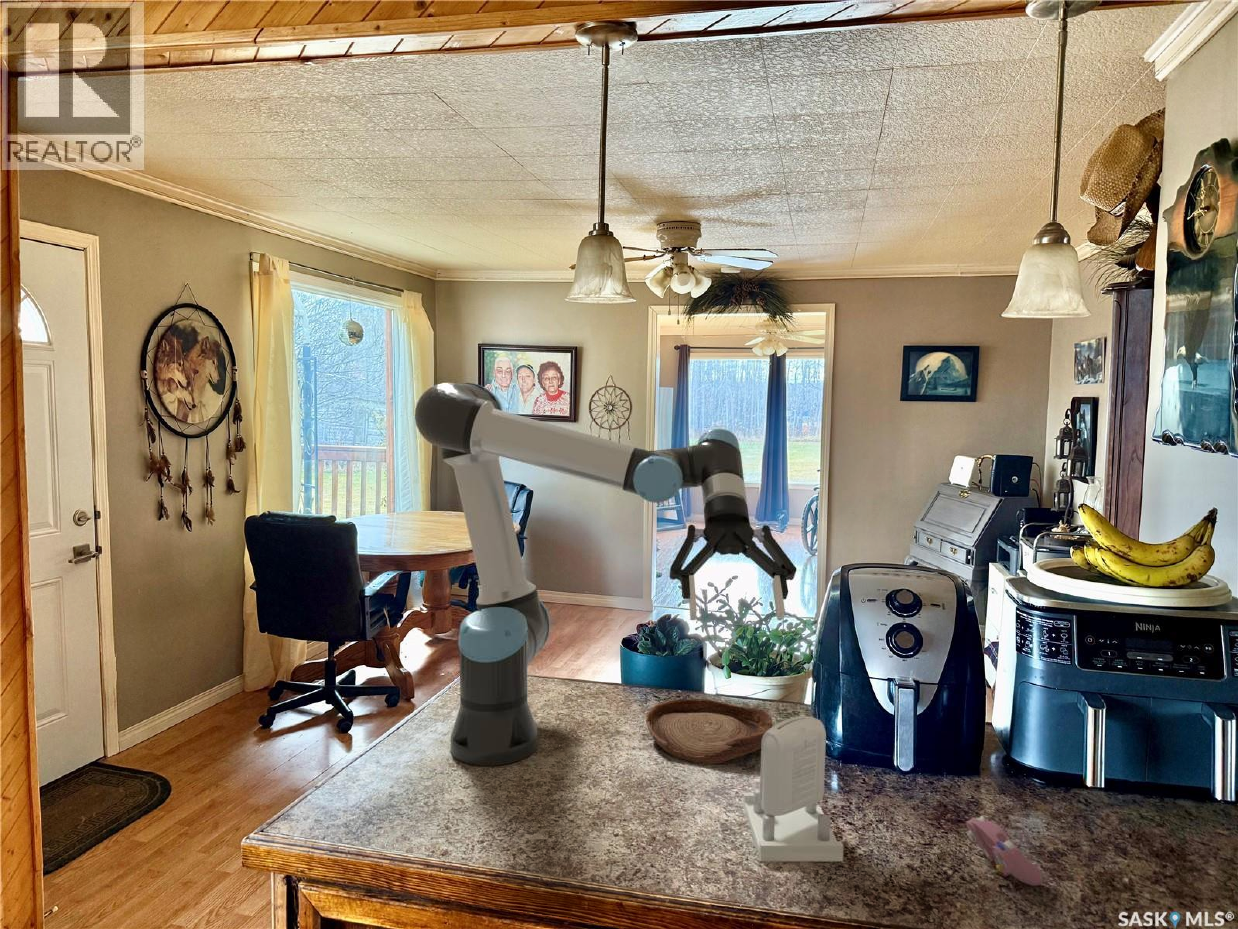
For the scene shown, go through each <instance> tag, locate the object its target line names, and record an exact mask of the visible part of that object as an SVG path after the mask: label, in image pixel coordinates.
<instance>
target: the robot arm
mask: <svg viewBox="0 0 1238 929" xmlns="http://www.w3.org/2000/svg"><path fill="white" fill-rule="evenodd" d="M414 411H415V412H414V420H415V421H414V422H415V425H416V428H417V430H418V432H419V433H420V435H421V436H422V437H423V438H424V439H425V440H426V441H427V442H428V443H430V444H431V445H433V446H435V447H438V448H440V453H441V456H442V460H443V462H444V463H446V464H447V465H449V466H451V467H452V468H453V471H454V476H455V480H456V484H457V488H458V493H459V497H460V502H461V506H462V510H463V514H464V515H463V516H464V518H465V523H466V527H467V532H468V536H469V540H470V544H471V548H472V554H473V558H474V561H475V566H476V569H477V576H478V579H479V583H480V588H481V592H480V593H479V595H478V597H477V599H476V602H475V604H476V607H477V610H475V611H473V612H471V613H469V614H468V615H467V616H465V617H464V619H463V620H462V621H461V623H460V626H459V635H458V641H457V644H458V651H459V652H458V653H459V655H458V656H459V660H458V662H459V696H460V697H459V698H460V700H459V701H460V702H459V704H460V705H459V708H458V711H457V714H456V715H457V716H456V718H455V722H454V724H453V727H452V731H451V733H450V753H451V755H452V756H453V757H454V758H455V759H457V760H458V761H460V762H463V763H465V764H469V765H474V766H481V767H483V766H487V767H491V766H492V767H493V766H494V767H495V766H505V765H508V764H513V763H516V762H519V761H522V760H523V759H526V758H528V757H530V756H531V755H532V754H533V753H534V752H535V751H536V750H537V748H538V744H539V742H538V740H539V737H538V734H539V733H538V729H537V726H536V723H535V720H534V717H533V714H532V711H531V708H530V705H529V703H528V667H529V665H530V663H531V662H532V661H533V660H534V659H535V657H536V656H537V655H538V653H540V652H541V650H543V647H544V646H545V645H546V643H547V641H548V637H549V636H550V631H551V617H550V613H549V610H548V609H547V607H546V605H545V604H544V603H543V602H542V600H540V598H539V594H538V590H537V586H536V584H534V583H532V582H530V581H529V580H528V579H527V578H526V576H527V575H526V572H525V568H524V564H523V559H522V555H521V550H520V545H519V541H518V537H517V533H516V529H515V524H514V520H513V516H512V511H511V507H510V503H509V498H508V494H507V490H506V485H505V480H504V477H503V472H502V469H501V468H502V467H501V462H500V459H499V458H500V457H502V458H505V459H509V460H512V461H513V460H514V461H516V462H520V463H524V464H527V465H531V466H534V467H539V468H542V469H546V470H549V471H552V472H557V473H561V474H564V475H568V476H571V477H575V478H579V479H581V480H586V481H588V482H594V483H597V484H600V485H604V486H608V487H611V488H613V489H614V488H615V489H617V490H622V491H625V492H628V493H630V494H634V495H637V496H640V497H641V498H642V499H644V501H647V502H649V503H654V504H655V503H656V504H660V503H664V502H666V501H669V500H671V499H673V498H674V497H675V496H676V495H677V494H678V493H679V491H680V490H683V489H688V488H690V489H691V488H697V487H701V491H702V504H703V518H704V528H696V526H695V525H694V524H690V525H688V526H687V532H686V534H687V535H686V538H685V539H684V542H683V543H682V545H681V546H680V549H679V551H678V552H677V554H676V557H675V558H674V560H673V562H672V563H671V566H670V567H669V568H670V569H669V579H671V580H677V581H680V587H681V598H683V600H688V604H689V620H690V621H696V617H697V598H696V597H697V596H696V585H695V574H696V573H697V572H698V571H699V570H700V569H701V568H702V567H703V566H704V565H705V564H706V562H708V560H709V559H711V558H712V557H713V556H714V555H715V554H716V553H718V554H720V555H721V556H722V555H724V556H725V555H735V556H736V555H738V556H739V555H740V554H743V556H745V557H746V558H747V559H750V560H752V562H753V563H755V564H756V565H757V566H758V567H760V569H761V570H763V571H764V572H765V573H766V574H767V575H768V576H769V577H770V578H772V579H773V581H772V583H771V587H772V594H773V600H774V607H775V614H776V620H777V621H783V619H784V616H785V613H786V609H785V603H784V602H785V601H784V600H787V598H788V594H789V589H788V583H787V582H788V581H792V580H794V578H795V576H796V573H797V567H796V566H795V565H794V563H793V561H791V559H790V558H789V556H788V555H787V554H786V552H785V551H784V549H782V547H781V545H780V544H779V543H778V542H777V541H776V539H775V538H774V536H773V534H772V532H771V528H770V526H769V525H766V524H764V525H763V526H762V527H761V528H755V529H753V527H752V526H751V522H750V516H749V515H750V513H749V508H748V506H749V505H748V500H747V495H746V494H747V492H746V487H745V486H746V484H745V480H744V479H745V478H744V470H743V468H744V467H743V460H742V454H741V449H740V445H739V440H738V438H737V436H736V434H734V433H733V432H731V431H730V430H728V429H724V428H713V429H709V431H707V432H703V433H702V434H701V435H700V437H699V438H698V440H697V444H694V445H693V444H692V445H688V446H684V447H674V448H666V449H665V448H664V449H657V450H656V449H655V450H646V449H643V448H639V447H634V446H631V445H627V444H624V443H620V442H616V441H613V440H610V439H607V438H603V437H599V436H595V435H591V434H588V433H585V432H580V431H576V430H573V429H570V428H566V427H562V426H558V425H555V424H551V423H548V422H544V421H540V420H538V419H533V418H530V417H525V416H523V415H519V414H515V413H513V412H512V413H511V412H508V411H504V410H503V407H502V404H501V401H500V400H499V398H498V397H497V396H496V394H494V392H492V391H491V390H490V389H488V388H487V387H484V386H482V385H480V384H478V383H474V382H442V383H438V384H435V385H433V386H431V387H429V388H427V390H425V391H424V392H423V393H422V395H421V396H420V397H419V399H418V401H417V402H416V406H415V410H414ZM701 538H703V539H704V541H705V542H706V543H705V545H704V546H703V547H702V548H701V549H700V551H698V553H697V554H696V555H695V556H694V557H693V558H692V559H691V560H690V561H689V562H688V563H687V565H686V566H684V564H685V563H686V560H687V558H688V557H689V555H690V553H691V551H692V550H693V547H694V543H697V542H699V541H700V539H701ZM754 538H756V539H757V540H758V542H759V543H760V544H761V543H762V546H763V547H764V549H765V551H766V552H767V553H768V554H767V553H765V552H764V551H763V550H762V549H761V548H760V547H759V546H757V543H756V542H755V541H754V540H753V539H754ZM683 567H684V568H683Z"/></svg>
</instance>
